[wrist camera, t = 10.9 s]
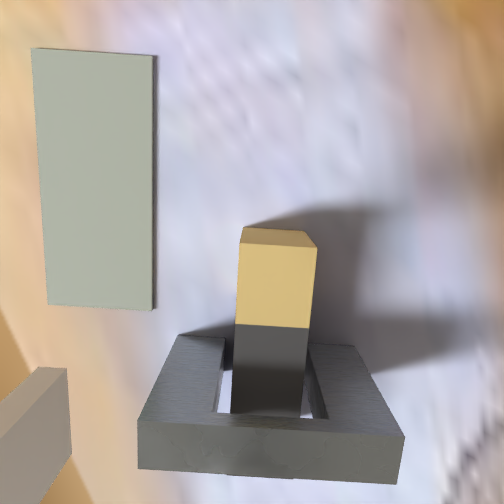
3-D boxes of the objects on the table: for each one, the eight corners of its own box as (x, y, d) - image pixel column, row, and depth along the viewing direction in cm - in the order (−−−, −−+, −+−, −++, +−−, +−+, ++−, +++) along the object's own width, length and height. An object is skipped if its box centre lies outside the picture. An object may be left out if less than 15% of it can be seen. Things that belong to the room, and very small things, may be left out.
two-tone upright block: (286, 419, 30) (293, 479, 24) (232, 415, 30) (226, 475, 24) (304, 230, 27) (317, 248, 21) (243, 227, 27) (239, 243, 21)
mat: (152, 309, 28) (151, 311, 28) (50, 303, 28) (47, 304, 28) (153, 57, 24) (151, 55, 24) (33, 49, 24) (30, 47, 24)
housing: (349, 379, 29) (396, 484, 19) (177, 369, 29) (137, 468, 19) (354, 346, 29) (405, 437, 19) (177, 334, 29) (137, 420, 19)
